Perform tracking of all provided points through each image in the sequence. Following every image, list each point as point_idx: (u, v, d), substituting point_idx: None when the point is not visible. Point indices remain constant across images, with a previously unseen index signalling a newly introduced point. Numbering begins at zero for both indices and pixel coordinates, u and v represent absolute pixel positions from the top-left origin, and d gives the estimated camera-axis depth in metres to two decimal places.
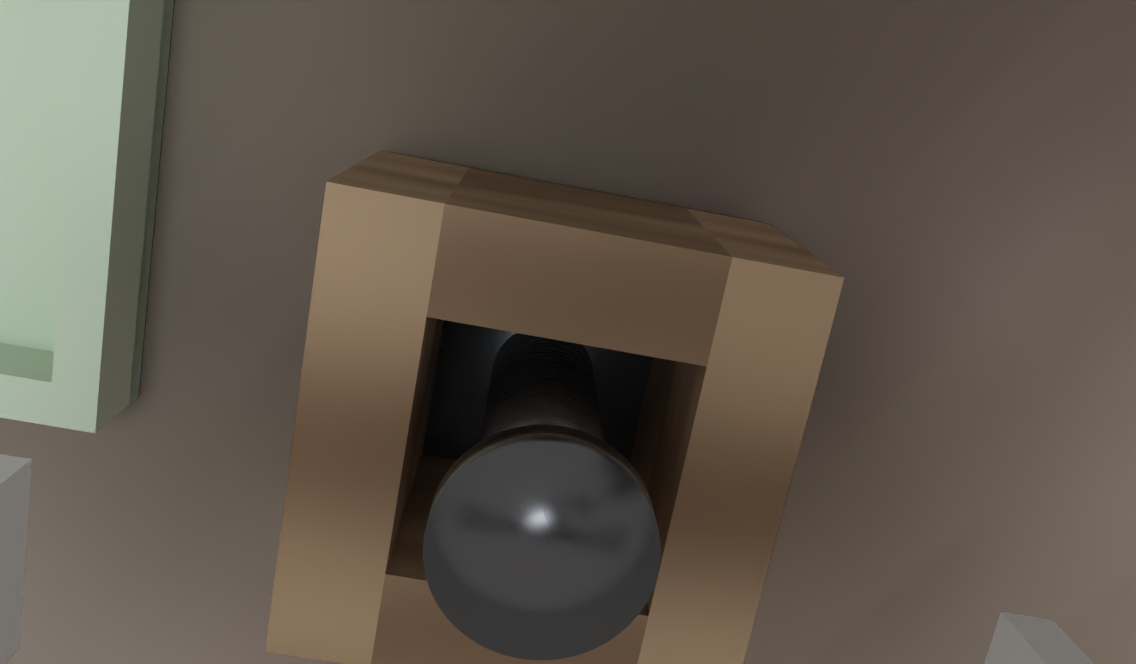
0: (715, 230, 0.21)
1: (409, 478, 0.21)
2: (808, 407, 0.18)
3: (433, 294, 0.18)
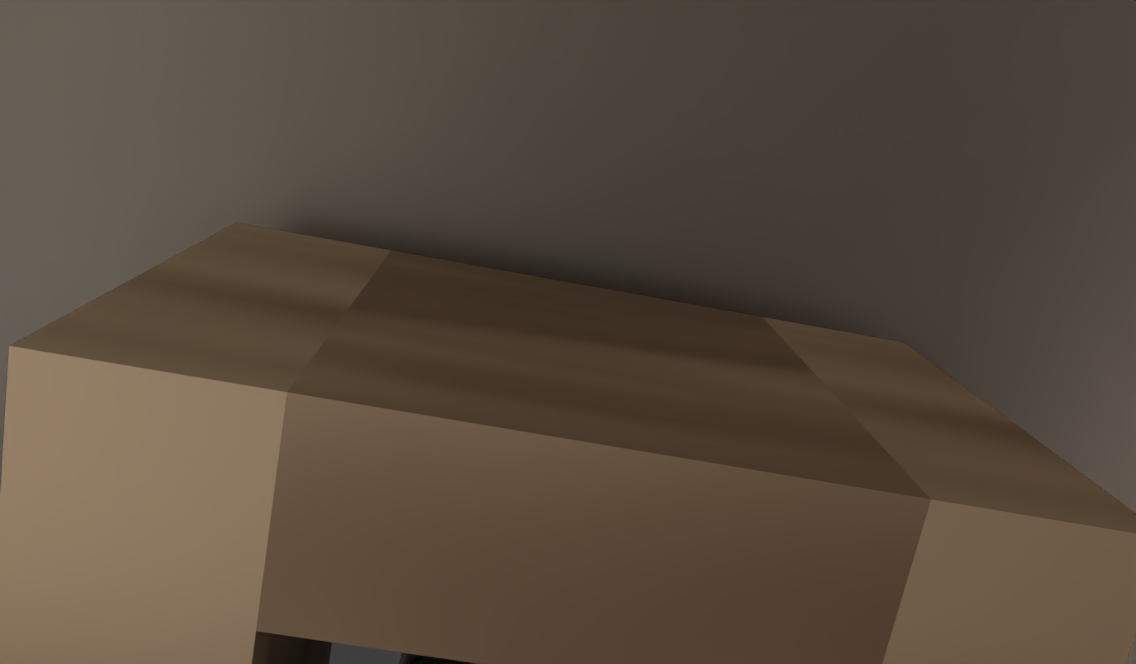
0: (841, 385, 0.11)
1: None
2: None
3: (269, 584, 0.08)
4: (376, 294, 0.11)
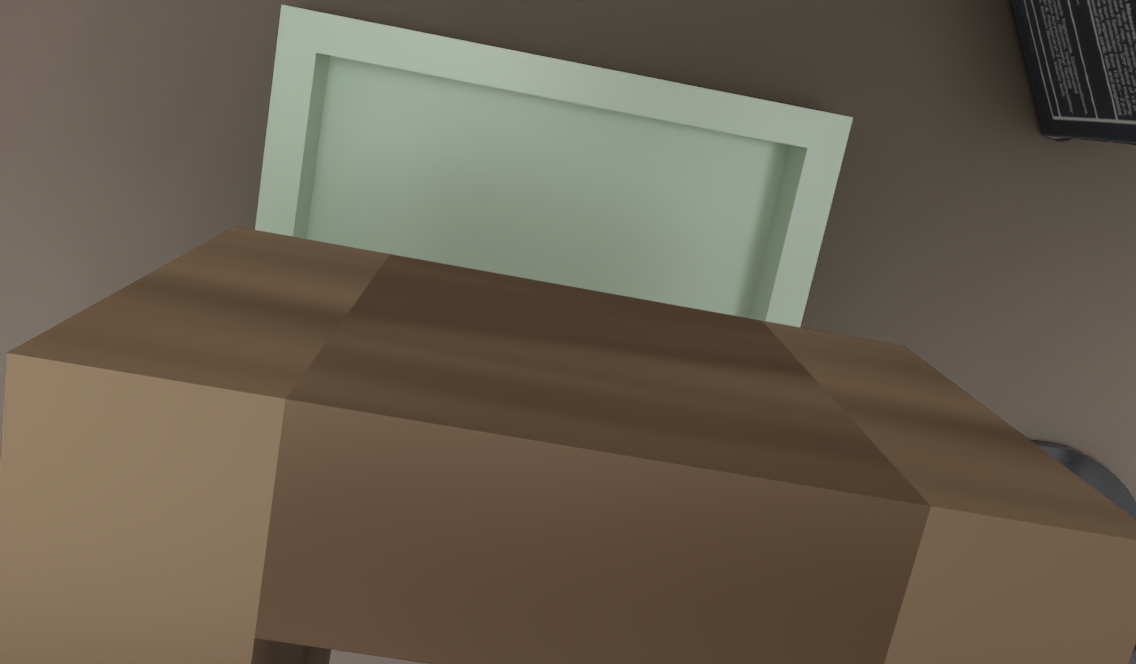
0: (841, 390, 0.11)
1: None
2: None
3: (268, 591, 0.08)
4: (375, 299, 0.11)
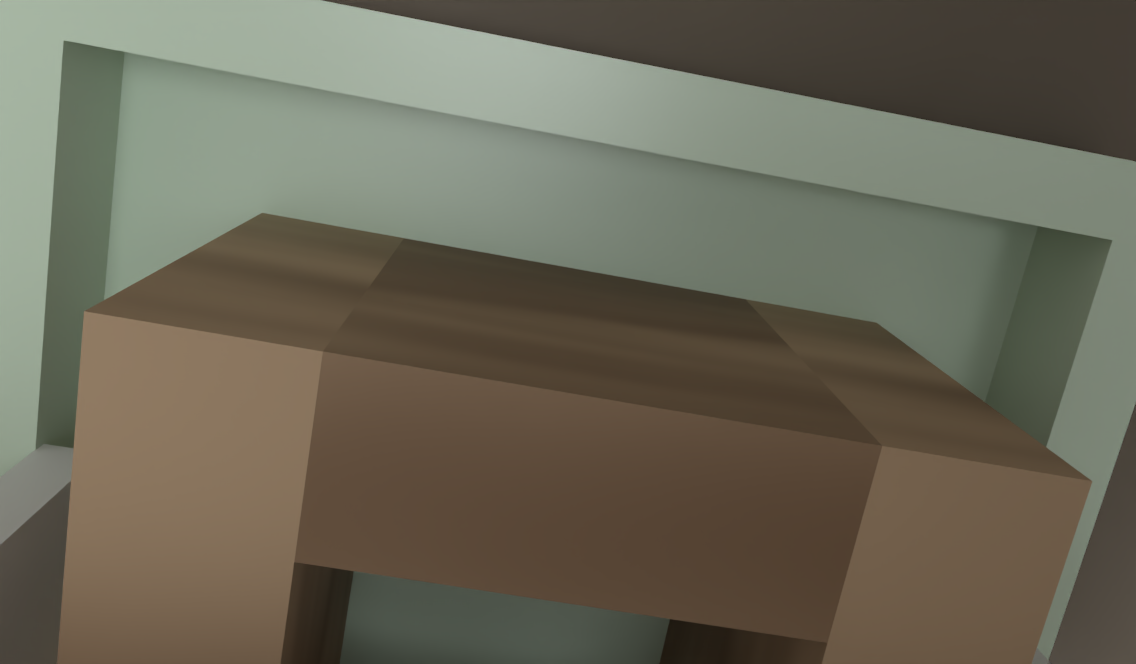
0: (813, 356, 0.12)
1: None
2: None
3: (306, 521, 0.09)
4: (393, 275, 0.12)
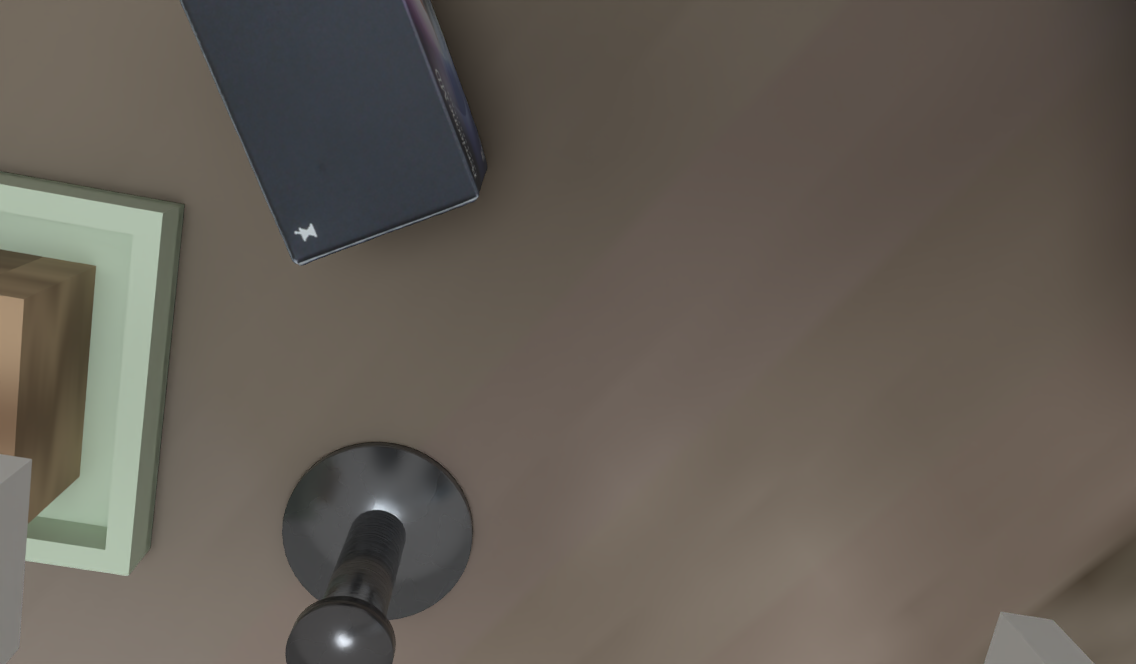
0: (13, 272, 0.38)
1: None
2: (19, 366, 0.35)
3: None
4: None
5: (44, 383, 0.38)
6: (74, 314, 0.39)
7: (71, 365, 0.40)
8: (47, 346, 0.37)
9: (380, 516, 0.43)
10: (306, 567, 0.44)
